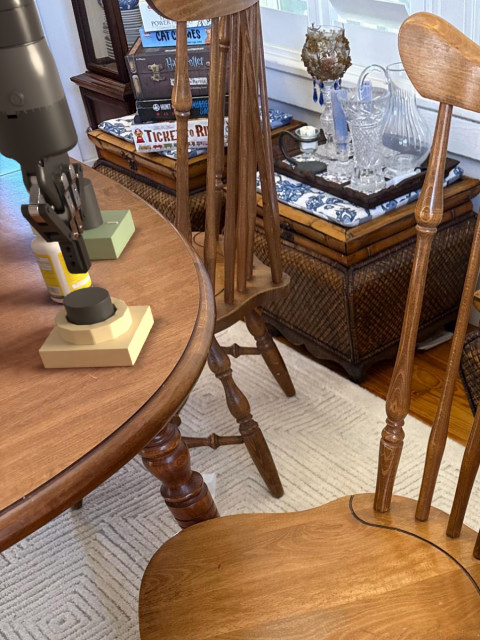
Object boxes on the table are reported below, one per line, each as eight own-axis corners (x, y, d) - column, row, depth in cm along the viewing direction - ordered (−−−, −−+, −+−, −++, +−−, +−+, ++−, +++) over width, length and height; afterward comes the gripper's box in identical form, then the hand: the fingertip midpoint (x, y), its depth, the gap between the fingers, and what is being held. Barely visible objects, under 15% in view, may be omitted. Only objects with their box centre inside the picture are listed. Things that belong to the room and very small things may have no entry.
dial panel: (46, 261, 108) (38, 239, 106) (68, 232, 116) (61, 210, 114) (117, 258, 108) (110, 236, 106) (135, 229, 115) (129, 208, 113)
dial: (99, 229, 108) (86, 186, 104) (64, 232, 108) (50, 188, 104) (105, 216, 112) (93, 173, 108) (72, 218, 111) (58, 176, 107)
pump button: (63, 327, 87) (56, 308, 85) (77, 306, 90) (70, 287, 89) (108, 326, 87) (101, 306, 85) (119, 305, 90) (114, 285, 89)
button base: (45, 368, 87) (32, 336, 85) (72, 324, 95) (61, 293, 92) (133, 365, 87) (123, 333, 84) (154, 322, 94) (145, 291, 92)
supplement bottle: (96, 283, 103) (72, 208, 96) (91, 302, 99) (66, 225, 92) (54, 287, 102) (27, 212, 96) (47, 306, 98) (18, 229, 92)
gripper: (7, 78, 78) (64, 246, 90) (-45, 119, 69) (26, 301, 81) (81, 75, 78) (129, 244, 90) (39, 115, 69) (98, 298, 81)
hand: (80, 270), depth 85 cm, fingers closed
